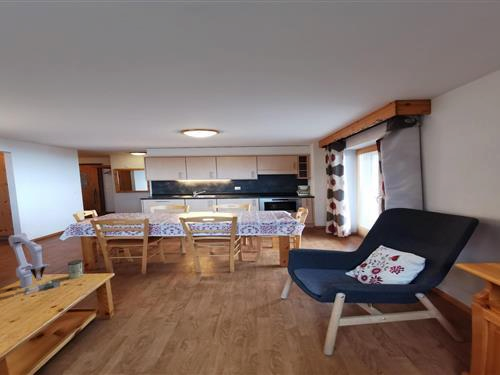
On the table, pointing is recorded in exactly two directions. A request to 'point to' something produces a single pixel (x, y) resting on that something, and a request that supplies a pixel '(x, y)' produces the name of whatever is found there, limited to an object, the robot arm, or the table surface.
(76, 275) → the coffee can
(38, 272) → the marker
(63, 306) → the table surface
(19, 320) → the table surface
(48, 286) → the button housing
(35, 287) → the activity board
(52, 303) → the table surface
